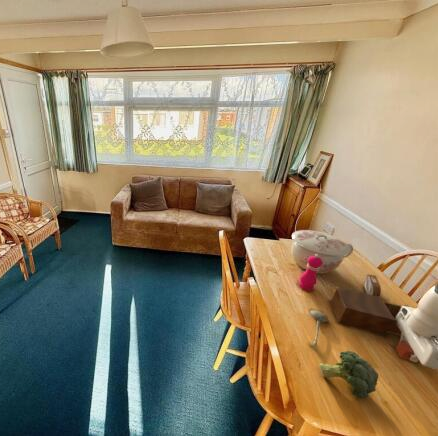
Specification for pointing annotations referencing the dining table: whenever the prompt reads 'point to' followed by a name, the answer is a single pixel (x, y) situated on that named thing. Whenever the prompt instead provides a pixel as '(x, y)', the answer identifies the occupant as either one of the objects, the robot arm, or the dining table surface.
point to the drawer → (394, 311)
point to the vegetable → (353, 373)
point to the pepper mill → (310, 273)
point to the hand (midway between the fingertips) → (407, 351)
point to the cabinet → (362, 311)
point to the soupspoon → (318, 323)
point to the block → (404, 350)
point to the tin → (372, 285)
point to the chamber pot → (319, 249)
